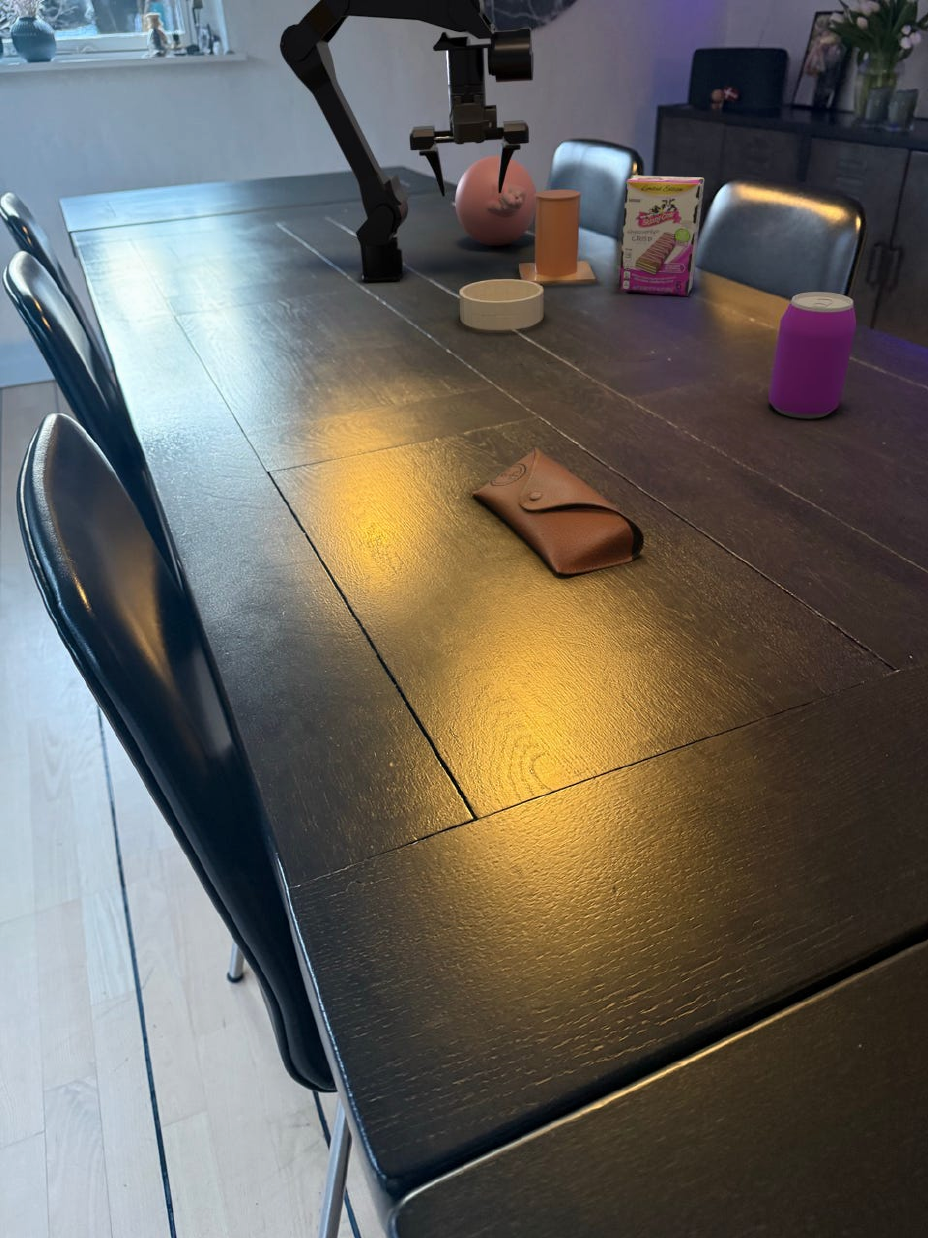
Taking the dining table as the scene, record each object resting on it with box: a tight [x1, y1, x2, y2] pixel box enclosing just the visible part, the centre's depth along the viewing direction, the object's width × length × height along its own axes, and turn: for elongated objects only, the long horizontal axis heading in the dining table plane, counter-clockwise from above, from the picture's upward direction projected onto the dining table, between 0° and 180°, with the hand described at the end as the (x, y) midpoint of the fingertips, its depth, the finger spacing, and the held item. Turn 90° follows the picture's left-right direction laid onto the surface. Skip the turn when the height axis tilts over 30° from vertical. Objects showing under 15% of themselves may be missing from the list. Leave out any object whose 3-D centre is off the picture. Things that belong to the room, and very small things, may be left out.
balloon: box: [454, 155, 537, 247], centre depth 167 cm, size 15×20×15 cm
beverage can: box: [768, 291, 857, 419], centre depth 98 cm, size 8×8×12 cm
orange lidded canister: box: [534, 189, 582, 276], centre depth 148 cm, size 7×7×12 cm
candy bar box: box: [618, 175, 705, 297], centre depth 138 cm, size 11×5×16 cm, turn 71°
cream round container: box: [459, 278, 545, 331], centre depth 132 cm, size 12×12×4 cm
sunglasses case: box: [471, 445, 645, 576], centre depth 81 cm, size 18×7×7 cm, turn 26°
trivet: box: [518, 260, 596, 285], centre depth 152 cm, size 12×12×1 cm
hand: (471, 194), depth 147 cm, fingers open, 9 cm apart
